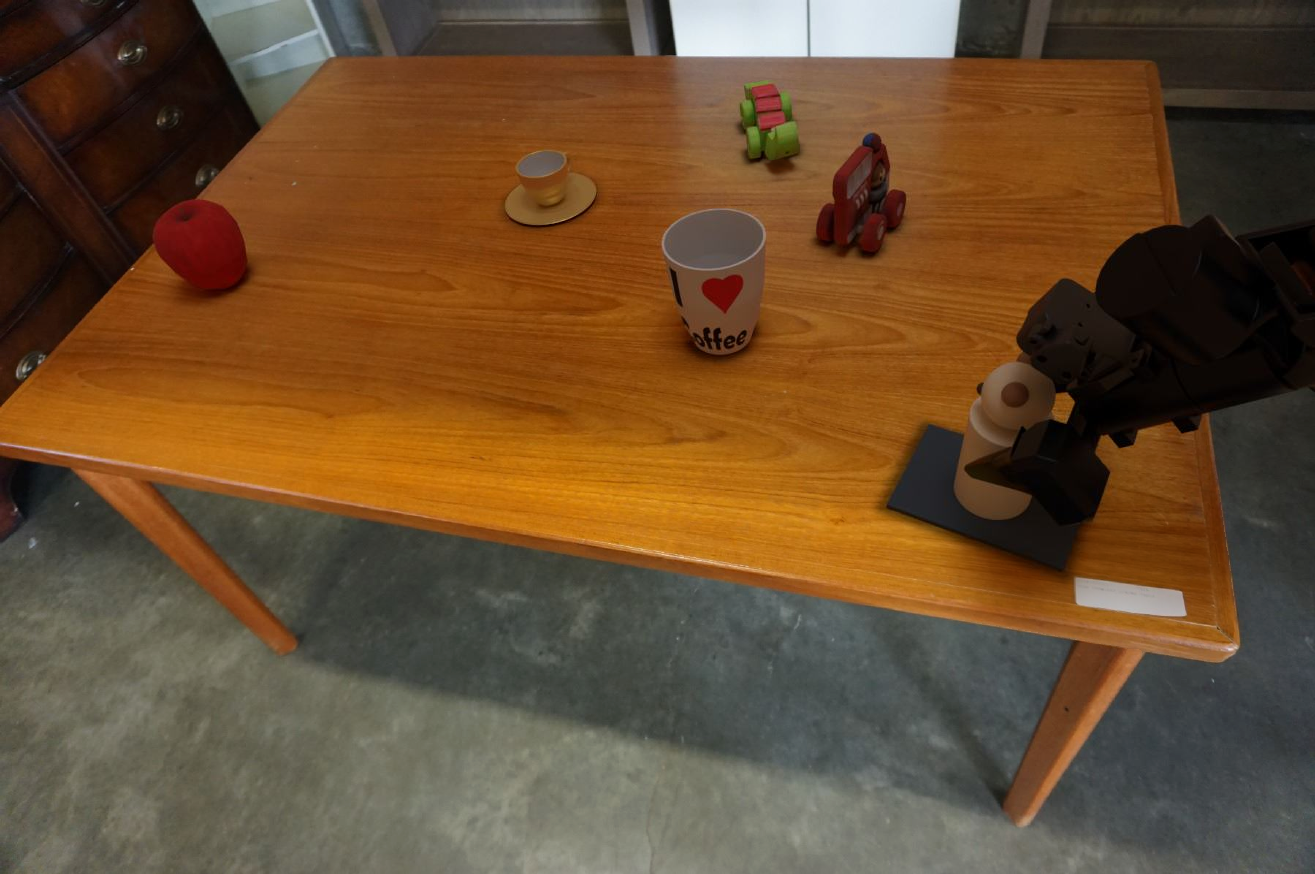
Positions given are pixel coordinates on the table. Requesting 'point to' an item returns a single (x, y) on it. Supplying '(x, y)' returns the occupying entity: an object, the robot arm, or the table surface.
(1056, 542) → the mat
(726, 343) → the cup
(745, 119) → the toy crocodile
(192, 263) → the apple
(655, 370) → the table surface
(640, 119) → the table surface
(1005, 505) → the bear
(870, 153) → the toy fire truck
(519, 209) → the cup
